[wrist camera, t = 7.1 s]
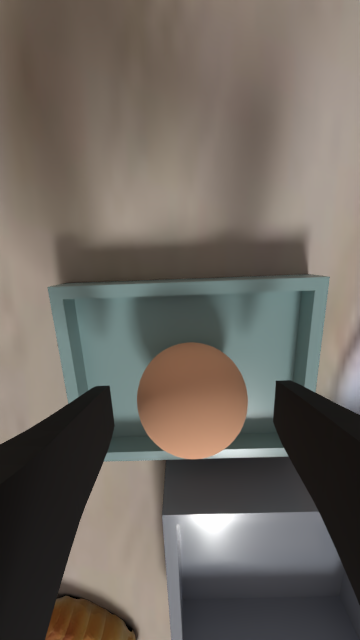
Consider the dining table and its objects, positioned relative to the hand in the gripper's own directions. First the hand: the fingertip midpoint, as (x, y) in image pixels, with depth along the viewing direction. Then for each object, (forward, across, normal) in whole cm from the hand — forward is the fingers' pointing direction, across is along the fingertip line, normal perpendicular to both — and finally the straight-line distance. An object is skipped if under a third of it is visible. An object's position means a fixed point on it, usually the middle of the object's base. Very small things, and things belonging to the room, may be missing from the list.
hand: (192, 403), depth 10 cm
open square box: (+4, -5, +14) cm, 15 cm away
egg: (+3, 0, 0) cm, 3 cm away
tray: (+4, 0, 0) cm, 4 cm away
